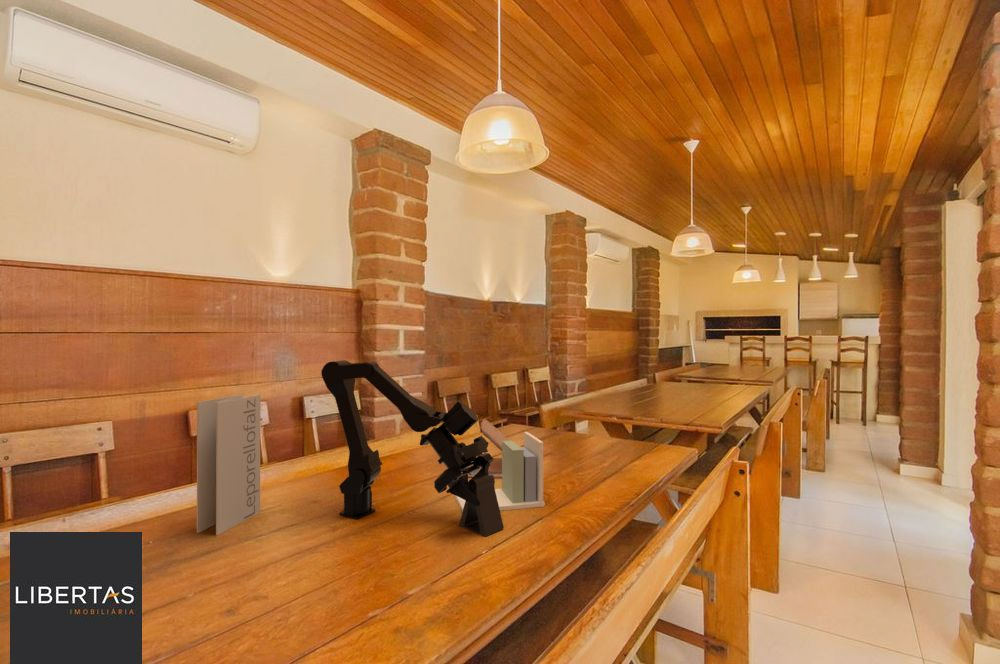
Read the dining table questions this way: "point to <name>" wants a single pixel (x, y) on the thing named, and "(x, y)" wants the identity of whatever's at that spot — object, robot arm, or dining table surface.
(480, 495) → the phone stand
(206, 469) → the brochure
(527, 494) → the bookshelf
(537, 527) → the dining table surface
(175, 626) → the dining table surface
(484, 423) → the case
